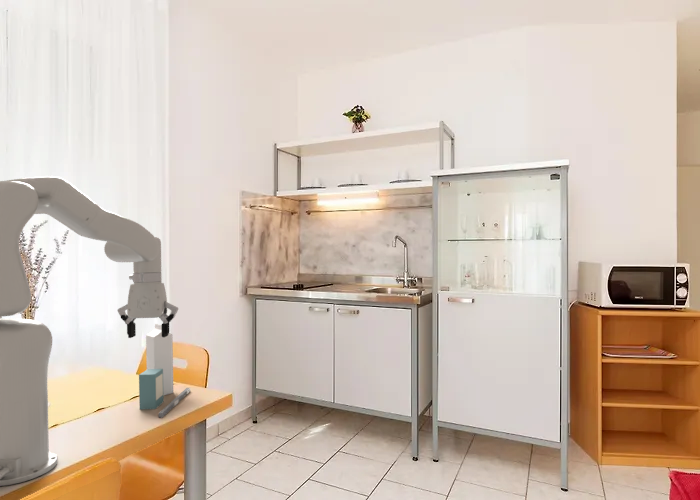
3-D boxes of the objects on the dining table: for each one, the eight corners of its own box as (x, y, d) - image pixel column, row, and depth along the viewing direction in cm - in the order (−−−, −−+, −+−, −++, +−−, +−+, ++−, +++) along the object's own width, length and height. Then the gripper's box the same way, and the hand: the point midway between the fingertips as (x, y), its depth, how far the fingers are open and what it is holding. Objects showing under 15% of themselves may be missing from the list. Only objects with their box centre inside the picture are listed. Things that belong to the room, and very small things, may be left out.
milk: (155, 398, 137) (153, 327, 137) (146, 393, 141) (145, 325, 141) (174, 392, 141) (172, 324, 141) (165, 389, 146) (163, 322, 145)
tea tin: (155, 408, 127) (154, 374, 127) (139, 409, 127) (138, 374, 127) (163, 401, 133) (163, 368, 133) (148, 402, 133) (147, 369, 133)
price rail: (163, 417, 120) (163, 413, 120) (158, 417, 120) (158, 413, 120) (190, 391, 142) (190, 387, 142) (186, 391, 142) (186, 387, 142)
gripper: (111, 280, 126) (112, 339, 126) (172, 279, 126) (173, 338, 126) (124, 278, 133) (125, 335, 133) (181, 277, 134) (182, 333, 134)
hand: (148, 336), depth 130 cm, fingers open, 9 cm apart
